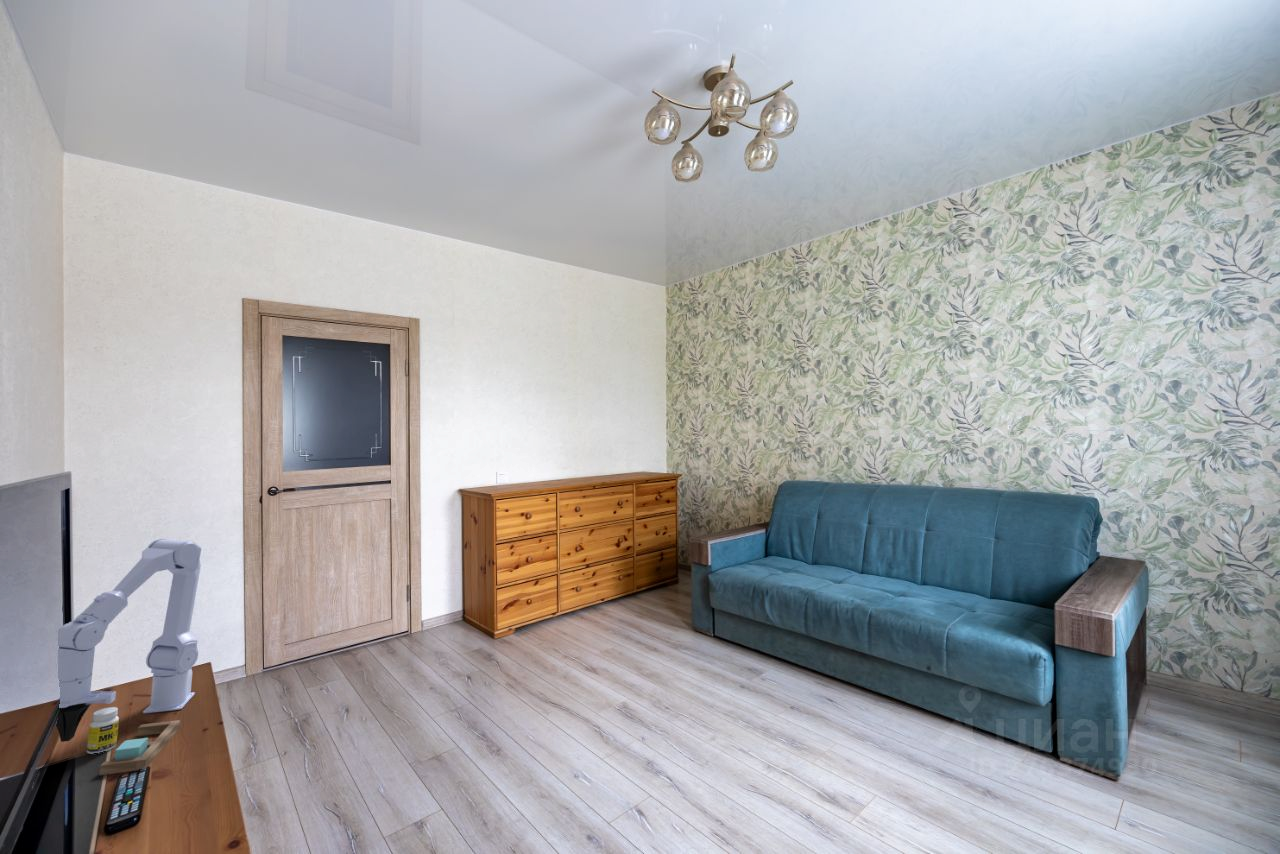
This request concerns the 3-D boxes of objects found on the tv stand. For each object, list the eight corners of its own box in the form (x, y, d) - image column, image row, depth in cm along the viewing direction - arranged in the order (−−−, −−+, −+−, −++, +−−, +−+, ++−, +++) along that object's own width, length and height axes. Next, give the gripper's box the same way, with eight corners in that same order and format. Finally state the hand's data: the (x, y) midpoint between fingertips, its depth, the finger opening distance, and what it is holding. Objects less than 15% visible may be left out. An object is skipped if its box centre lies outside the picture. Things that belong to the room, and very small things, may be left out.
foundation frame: (140, 733, 127) (141, 724, 127) (179, 728, 130) (180, 720, 130) (99, 775, 111) (100, 765, 111) (145, 769, 114) (145, 759, 114)
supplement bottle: (97, 756, 117) (100, 717, 118) (80, 752, 118) (84, 714, 119) (122, 744, 122) (125, 707, 123) (106, 741, 123) (109, 704, 124)
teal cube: (123, 759, 117) (125, 740, 117) (146, 755, 119) (148, 737, 119) (113, 769, 113) (115, 750, 114) (137, 766, 115) (139, 747, 115)
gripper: (17, 688, 112) (10, 754, 112) (106, 680, 118) (100, 743, 117) (39, 675, 119) (32, 737, 118) (122, 668, 124) (117, 727, 124)
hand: (67, 739), depth 118 cm, fingers closed
